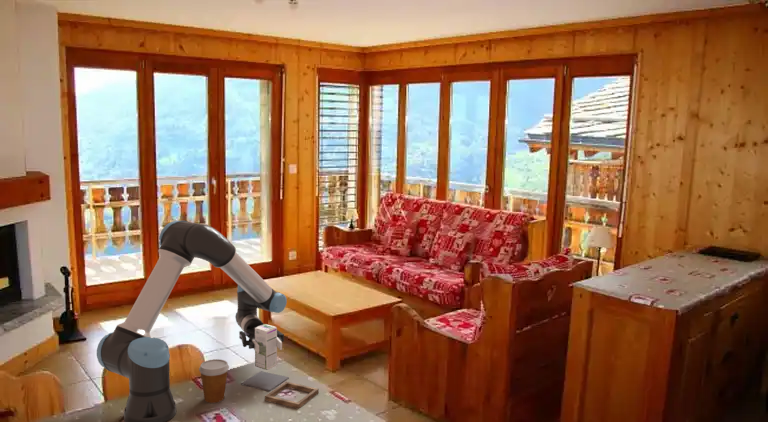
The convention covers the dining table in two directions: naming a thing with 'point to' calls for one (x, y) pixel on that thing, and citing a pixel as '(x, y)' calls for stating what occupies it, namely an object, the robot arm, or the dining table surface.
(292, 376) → the dining table surface
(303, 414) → the dining table surface
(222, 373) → the disposable coffee cup
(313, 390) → the walnut holder frame
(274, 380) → the rubber mat
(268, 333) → the syrup box
